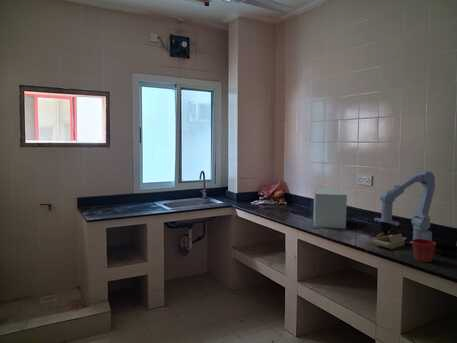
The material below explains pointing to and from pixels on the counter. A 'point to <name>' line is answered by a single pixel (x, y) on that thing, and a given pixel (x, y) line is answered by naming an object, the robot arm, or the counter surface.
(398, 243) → the carton
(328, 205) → the cube
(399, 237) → the flap near
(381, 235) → the flap far
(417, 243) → the flower pot
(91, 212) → the counter surface
